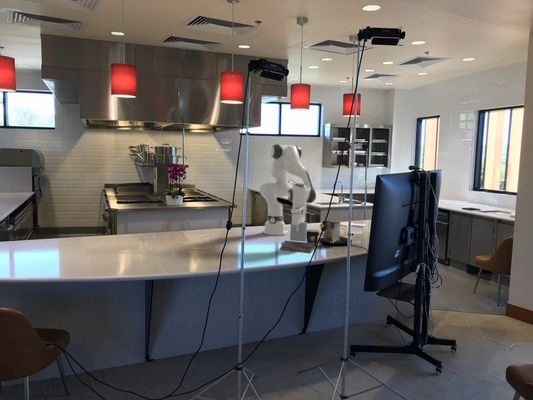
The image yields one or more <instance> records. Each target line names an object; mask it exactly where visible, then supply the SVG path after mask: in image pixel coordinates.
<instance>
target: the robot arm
mask: <svg viewBox="0 0 533 400" xmlns="http://www.w3.org/2000/svg"><path fill="white" fill-rule="evenodd" d="M302 153H303V152H302V148H301V147H300V146H298V145H292V144H279V143H277V144H274V145H272V147H271V150H270V155H271V157H272V158H273V162H272V166H271V176H272V177H273V178H274V179H276V181H275V182H265V183H262V184H261V185H260V187H259V195H261V197H263V198H264V199H265V201H266V204H267V215H266V221H265V222H264V230H263V231H262V234H264V235H267V236H268V235H269V236H287V234H288V233H289V230H287V229H286V224H285V222H284V214H283V210H284V209H283V207H284V206H283V204H282V203H281V202H279V201H278V199H277V198H285V197H287V200H288V201H290V202H291V203H292V208H291V210H290V213H291V222H292V225H296V231H299V224H301V223H302V222H306V213H307V204H312V203H314V202H315V200H316V198H317V194H316V190H315V188H314V186H313V184H312V180H311V178H310V175H309V172H308V169H307V168H306V167H304V166H303V164H302V162H301V157H302ZM288 173H289V174H290V175H292V176H296V177H299V178H300V179H301V180H302V182H303V183H299V182H297V183H295V184H294V185H293V187H292V185H291V184H290V183H289V182H288V180H287V174H288Z"/></svg>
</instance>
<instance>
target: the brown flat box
mask: <svg viewBox="0 0 533 400" xmlns="http://www.w3.org/2000/svg"><path fill="white" fill-rule="evenodd" d="M315 249H316V246H315V243H307V241H306V242H303V241H293V240H284V242H283V241H282V242H281V245H280V246H279V250H280V251H281V250H282V251H287V250H288V251H289V252H299V253H307V254H308V253H309V254H311V253H312V252H313V251H314V250H315Z"/></svg>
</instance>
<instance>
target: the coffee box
mask: <svg viewBox="0 0 533 400" xmlns="http://www.w3.org/2000/svg"><path fill="white" fill-rule="evenodd" d="M325 222H326V223H325ZM324 228H325V230H324V229H323V231H324V232H323V234H324V235H323V236H324V237H323V241H324V240H326V241H328V242H330V243H334V242H337V241H339V242H340V233H341V222H340V221H338V220H337V221H336V220H331V219H329V220H327V219H326V220H324Z"/></svg>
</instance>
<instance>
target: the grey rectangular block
mask: <svg viewBox="0 0 533 400" xmlns="http://www.w3.org/2000/svg"><path fill="white" fill-rule="evenodd" d="M307 230H308V222H306V221H305V222H302V223H301V224H299V231H296V225H292V221H290V233H289V234H290V235H289V238H290V239H289V241H295V242H306V243H307Z"/></svg>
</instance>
